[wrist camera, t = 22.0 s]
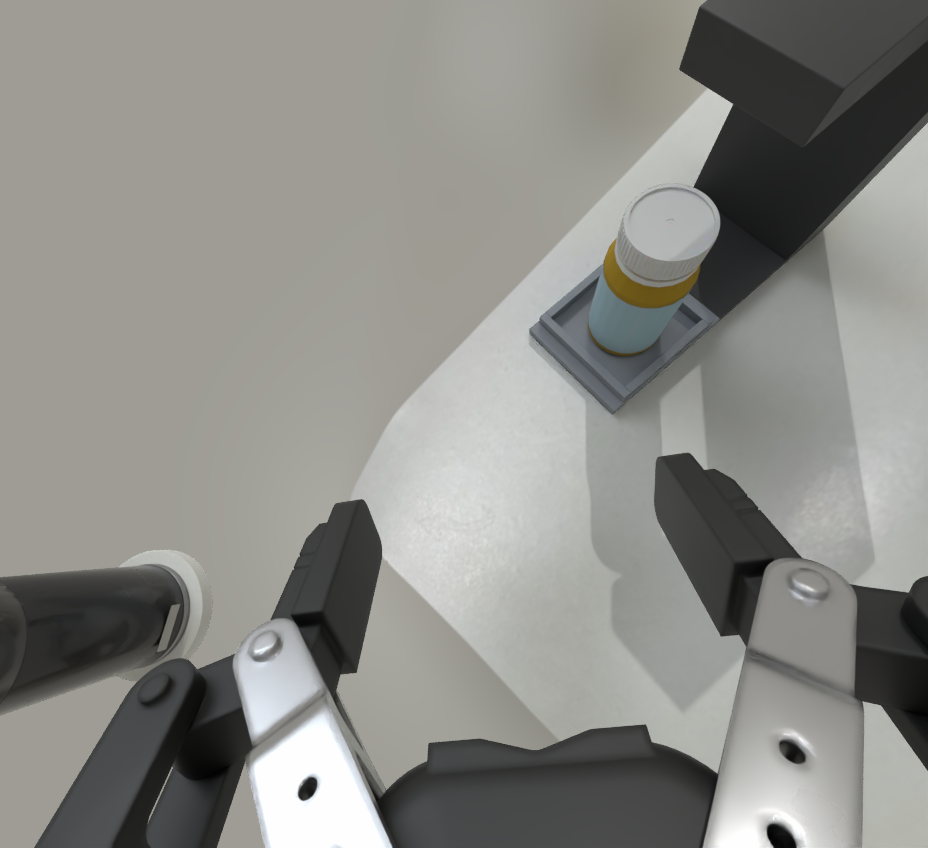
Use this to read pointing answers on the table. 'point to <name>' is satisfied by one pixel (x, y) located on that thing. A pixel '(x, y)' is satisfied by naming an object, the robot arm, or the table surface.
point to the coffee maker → (770, 156)
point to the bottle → (651, 266)
